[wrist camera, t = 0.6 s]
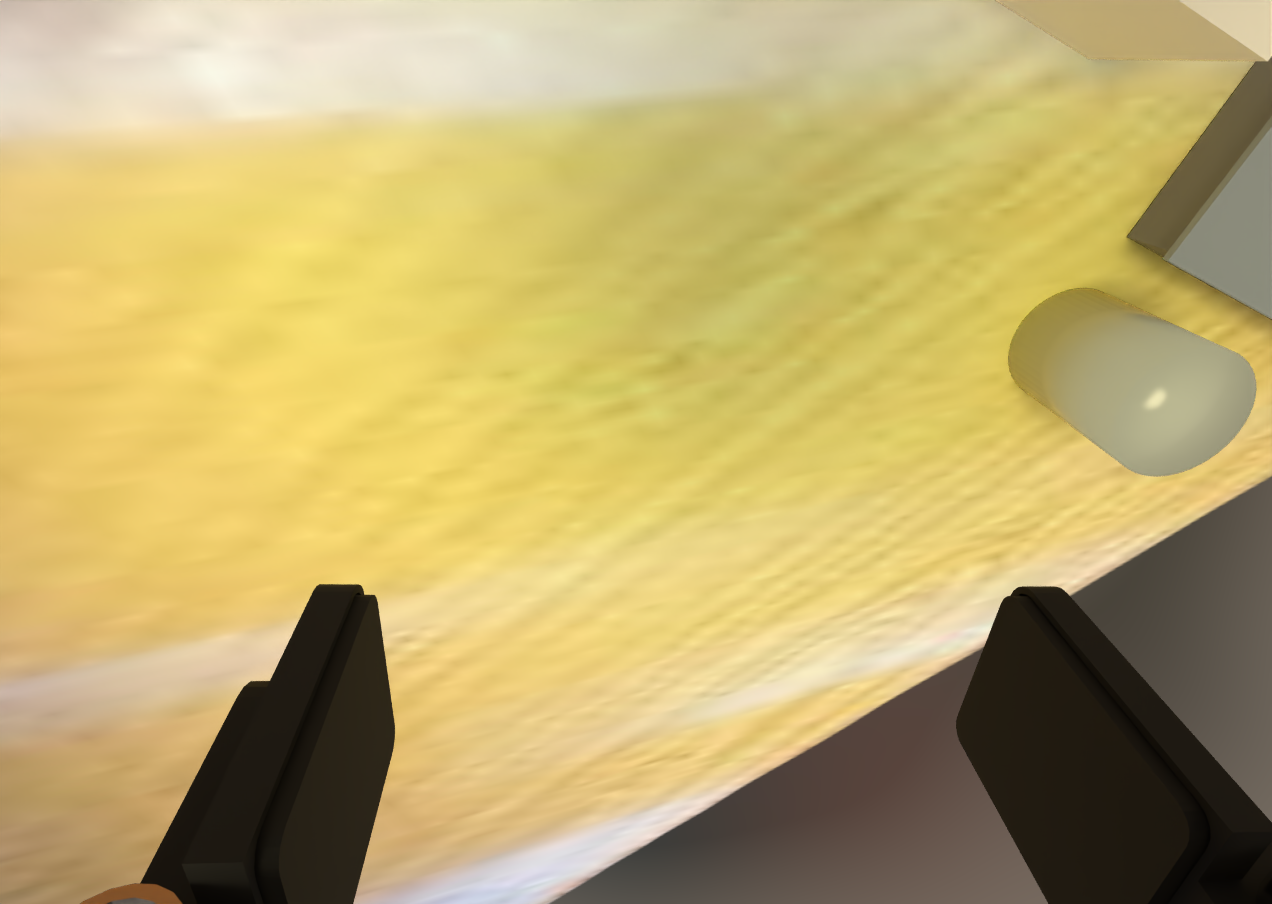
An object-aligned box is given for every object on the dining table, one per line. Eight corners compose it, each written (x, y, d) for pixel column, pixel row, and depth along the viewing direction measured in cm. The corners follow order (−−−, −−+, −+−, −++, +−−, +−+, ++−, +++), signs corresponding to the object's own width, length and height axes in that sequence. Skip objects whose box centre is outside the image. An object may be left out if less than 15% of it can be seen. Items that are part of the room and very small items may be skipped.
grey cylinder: (1059, 269, 39) (1183, 324, 31) (1147, 315, 40) (1286, 379, 32) (985, 373, 41) (1082, 449, 33) (1071, 412, 43) (1182, 494, 35)
